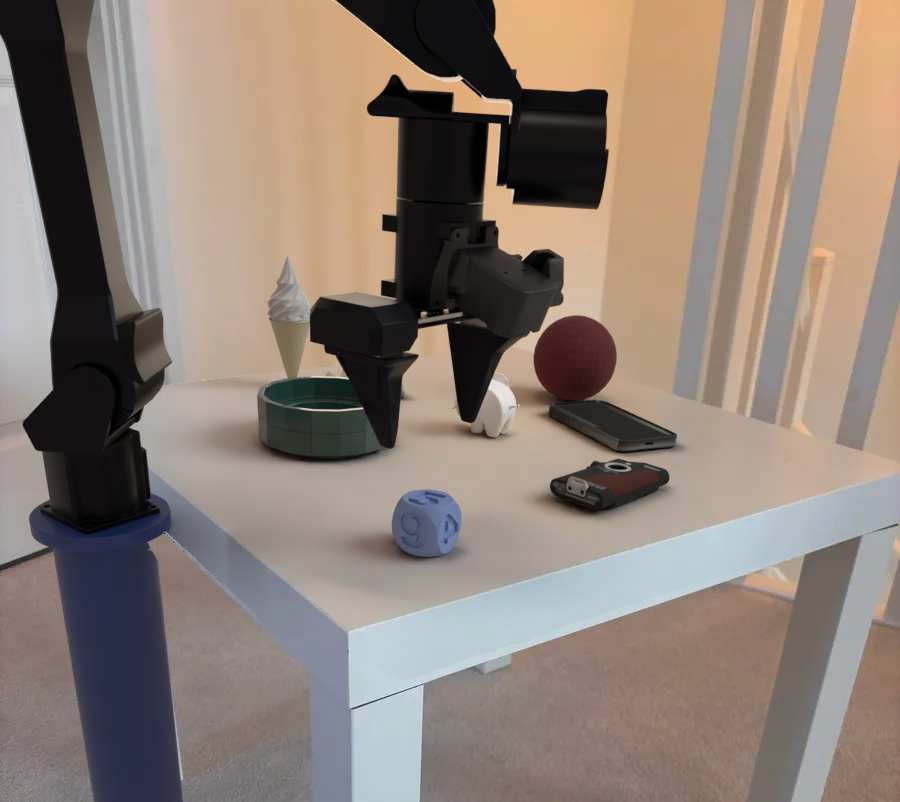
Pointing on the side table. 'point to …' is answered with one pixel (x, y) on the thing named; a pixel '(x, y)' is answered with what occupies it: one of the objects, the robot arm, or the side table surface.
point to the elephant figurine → (495, 408)
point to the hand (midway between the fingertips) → (429, 434)
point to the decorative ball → (575, 358)
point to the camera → (609, 483)
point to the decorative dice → (426, 523)
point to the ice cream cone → (289, 319)
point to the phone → (612, 425)
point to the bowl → (314, 418)
